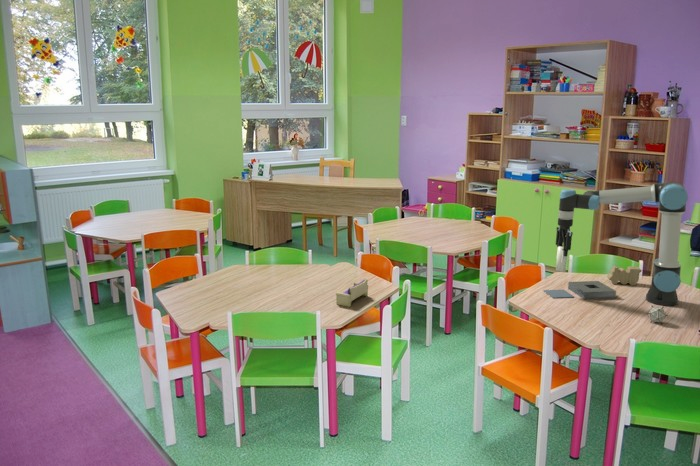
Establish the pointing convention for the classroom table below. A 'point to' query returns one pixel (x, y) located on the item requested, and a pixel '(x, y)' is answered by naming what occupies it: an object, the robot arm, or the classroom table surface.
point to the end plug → (560, 265)
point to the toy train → (624, 275)
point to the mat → (558, 294)
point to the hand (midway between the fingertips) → (561, 260)
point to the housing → (591, 290)
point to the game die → (657, 314)
